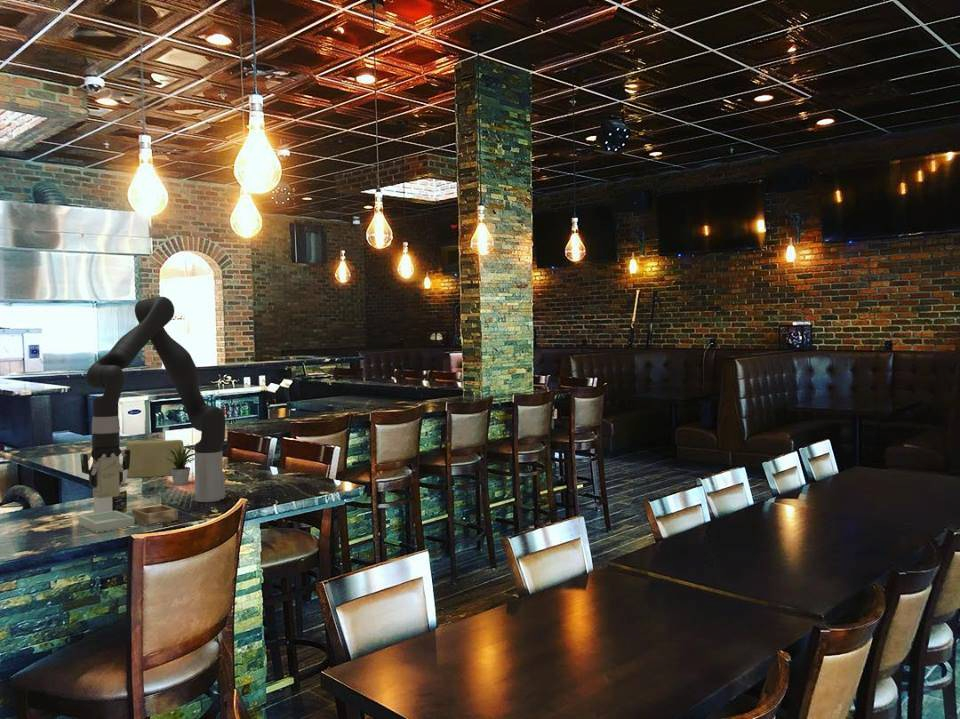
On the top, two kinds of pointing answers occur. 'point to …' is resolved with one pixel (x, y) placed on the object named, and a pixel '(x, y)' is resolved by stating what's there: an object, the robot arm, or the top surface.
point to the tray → (106, 521)
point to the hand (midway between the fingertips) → (106, 485)
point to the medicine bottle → (111, 502)
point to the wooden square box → (155, 514)
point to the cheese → (151, 457)
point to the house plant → (181, 465)
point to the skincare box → (106, 478)
